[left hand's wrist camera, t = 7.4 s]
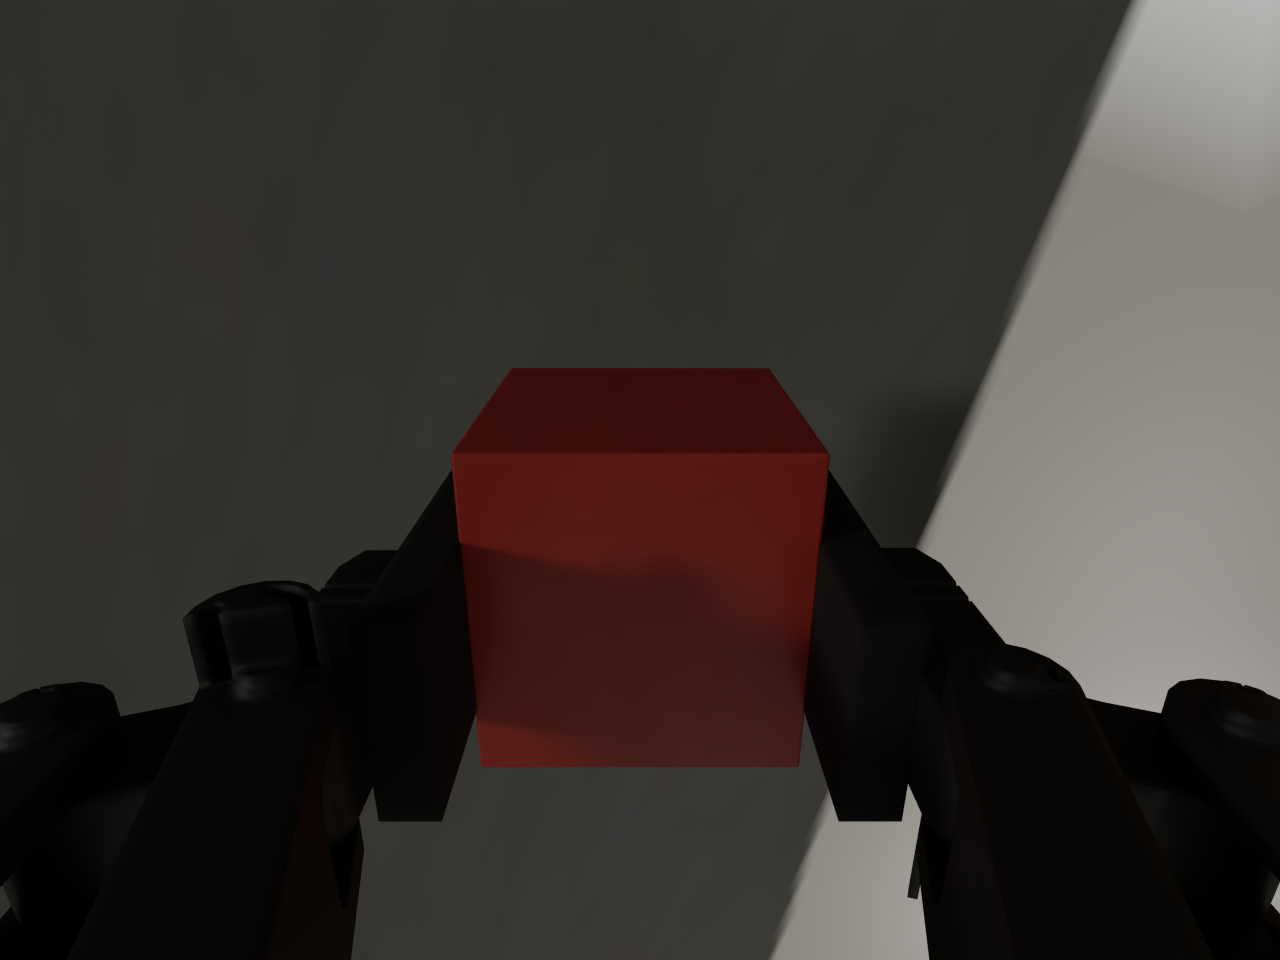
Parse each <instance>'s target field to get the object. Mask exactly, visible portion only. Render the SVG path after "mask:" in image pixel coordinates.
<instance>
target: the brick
mask: <svg viewBox="0 0 1280 960" xmlns="http://www.w3.org/2000/svg"><path fill="white" fill-rule="evenodd" d="M829 461H830V455H829V453H828V451H827V450H826V448H825V447H824V446H823V444H822V443H821V441H820V440H819V438H818V437H817V436H816V434H815V433H814V431H813V430H812V429H811V427H810V426H809V424H808V423H807V422H806V420H805V419H804V417H803V416H802V414H801V413H800V412H799V410H798V409H797V407H796V406H795V405H794V403H793V402H792V400H791V399H790V398H789V396H788V395H787V393H786V392H785V390H784V389H783V388H782V386H781V385H780V383H779V382H778V381H777V379H776V378H775V376H774V375H773V374H772V372H771V371H770V369H768V368H512V369H511V370H510V371H509V373H508V374H507V375H506V377H505V378H504V380H503V381H502V383H501V384H500V385H499V387H498V388H497V390H496V391H495V392H494V394H493V395H492V397H491V398H490V400H489V401H488V402H487V404H486V405H485V407H484V408H483V410H482V411H481V412H480V414H479V415H478V417H477V418H476V419H475V421H474V422H473V424H472V425H471V427H470V428H469V429H468V431H467V432H466V434H465V435H464V437H463V438H462V439H461V441H460V442H459V444H458V445H457V446H456V448H455V449H454V451H453V452H452V454H451V462H452V473H453V483H454V493H455V503H456V513H457V524H458V534H459V542H460V545H461V555H462V565H463V575H464V586H465V596H466V606H467V616H468V626H469V637H470V647H471V657H472V667H473V677H474V688H475V698H476V708H477V711H476V718H477V728H478V738H479V749H480V759H481V765H482V766H483V767H797V766H798V765H799V761H800V751H801V741H802V731H803V721H804V702H805V692H806V682H807V672H808V662H809V652H810V642H811V631H812V621H813V611H814V601H815V591H816V581H817V571H818V560H819V550H820V542H821V541H822V531H823V521H824V511H825V501H826V491H827V481H828V471H829Z"/></svg>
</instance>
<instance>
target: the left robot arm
mask: <svg viewBox="0 0 1280 960" xmlns="http://www.w3.org/2000/svg"><path fill="white" fill-rule="evenodd" d="M183 623H184V627H185V631H186V635H187V639H188V643H189V646H190V650H191V654H192V658H193V662H194V666H195V670H196V674H197V678H198V681H199V685H200V687H199V689H198V691H197V693H196V695H195V697H194V699H193V701H192V702H189V703H185V704H181V705H177V706H172V707H167V708H162V709H157V710H151V711H146V712H141V713H136V714H131V715H126V716H120V713H119V710H118V707H117V703H116V700H115V697H114V694H113V692H111V691H110V690H109V689H107V688H106V687H105V686H103V685H101V684H94V683H87V682H75V683H66V684H53V685H49V686H44V687H41V689H38V690H37V688H36V689H33V690H30V691H26V692H23V693H21V694H19V695H17V696H16V697H15V698H12V699H10V700H8V701H5V702H3V703H1V704H0V887H1V886H3V888H4V890H5V893H6V895H7V898H8V900H9V902H10V905H11V907H10V908H9V909H8V911H7V912H6V913H5V914H4V915H3V916H2V917H1V919H0V960H351V955H352V946H353V938H354V929H355V921H356V913H357V904H358V896H359V887H360V879H361V871H362V862H363V854H364V845H363V839H362V832H361V827H360V821H359V816H360V814H361V812H362V809H363V807H364V805H365V803H366V800H367V798H368V796H369V794H370V791H371V789H372V787H373V789H374V795H375V801H376V807H377V813H378V819H379V821H442V819H443V816H444V813H445V810H446V807H447V803H448V800H449V797H450V794H451V791H452V787H453V784H454V781H455V778H456V775H457V771H458V768H459V765H460V762H461V759H462V756H463V752H464V749H465V746H466V743H467V740H468V736H469V733H470V730H471V727H472V724H473V720H474V717H475V714H476V711H477V708H476V698H475V688H474V677H473V667H472V657H471V647H470V637H469V626H468V616H467V606H466V596H465V586H464V575H463V565H462V555H461V545H460V542H459V534H458V524H457V513H456V503H455V493H454V483H453V473H452V470H451V472H450V473H449V475H448V476H447V478H446V479H445V481H444V482H443V484H442V485H441V487H440V488H439V490H438V491H437V493H436V494H435V496H434V497H433V498H432V500H431V501H430V503H429V504H428V506H427V507H426V509H425V510H424V512H423V513H422V515H421V516H420V518H419V519H418V521H417V522H416V524H415V525H414V527H413V528H412V530H411V531H410V533H409V534H408V536H407V537H406V539H405V540H404V542H403V543H402V545H401V546H400V548H399V549H398V550H365V551H364V552H362V553H361V554H359V555H357V556H356V557H354V558H352V559H351V560H349V561H347V562H346V563H344V564H342V565H341V566H339V568H338V569H337V570H336V571H335V573H334V574H333V575H332V576H331V578H330V579H329V580H328V581H327V583H326V584H325V588H322V589H321V590H320V591H319V592H318V591H316V590H315V589H314V588H312V587H311V586H310V585H308V584H304V583H299V582H294V581H264V582H258V583H253V584H248V585H242V586H239V587H236V588H233V589H230V590H227V591H225V592H222V593H219V594H216V595H214V596H212V597H211V598H209V599H207V600H205V601H204V602H202V603H200V604H198V605H196V606H195V607H194V608H193V609H192V610H191V611H190V612H189V613H188V614H187V615H186V616H185V617H184V618H183ZM804 712H805V716H806V719H807V722H808V725H809V728H810V732H811V735H812V738H813V741H814V744H815V748H816V751H817V754H818V757H819V760H820V763H821V767H822V770H823V773H824V776H825V779H826V783H827V786H828V789H829V792H830V795H831V799H832V802H833V805H834V808H835V811H836V814H837V818H838V821H902V816H903V810H904V804H905V798H906V792H907V786H908V784H909V786H910V789H911V791H912V793H913V795H914V798H915V800H916V802H917V804H918V806H919V809H920V811H921V813H922V815H921V821H920V827H919V832H918V838H917V843H916V849H915V855H914V860H913V866H912V872H911V877H910V883H909V890H908V896H907V897H909V898H914V899H917V898H918V893H919V888H920V886H921V894H922V902H923V910H924V919H925V927H926V936H927V944H928V953H929V960H1280V913H1279V912H1278V911H1277V910H1276V909H1275V908H1274V907H1273V905H1272V904H1271V902H1272V899H1273V897H1274V894H1275V892H1276V890H1277V887H1278V885H1279V883H1280V699H1278V698H1275V697H1273V696H1271V695H1268V694H1266V693H1265V692H1264V691H1262V690H1260V689H1257V688H1254V687H1251V686H1247V685H1245V686H1242V685H1241V684H1240V683H1235V682H1230V681H1219V680H1210V679H1193V680H1186V681H1180V682H1178V683H1177V684H1175V685H1174V686H1173V687H1171V688H1170V689H1169V690H1168V693H1167V696H1166V699H1165V702H1164V706H1163V709H1162V712H1161V713H1157V712H1151V711H1146V710H1141V709H1136V708H1131V707H1126V706H1120V705H1115V704H1110V703H1105V702H1100V701H1096V700H1093V699H1089V698H1086V696H1085V694H1084V692H1083V690H1082V688H1081V686H1080V684H1079V683H1078V682H1077V681H1076V679H1075V678H1074V677H1073V676H1072V675H1071V673H1070V672H1069V671H1068V670H1066V669H1065V668H1063V667H1062V666H1060V665H1059V664H1057V663H1056V662H1054V661H1053V660H1051V659H1050V658H1048V657H1046V656H1043V655H1041V654H1038V653H1036V652H1033V651H1031V650H1029V649H1026V648H1022V647H1017V646H1013V645H1008V644H1006V643H1005V642H1004V641H1003V640H1002V638H1001V637H1000V636H999V635H998V633H997V632H996V631H995V630H994V628H993V627H992V626H991V625H990V624H989V622H988V621H987V620H986V619H985V617H984V616H983V615H982V614H981V612H980V611H979V610H978V609H977V607H976V606H975V605H974V604H973V602H972V601H969V600H968V596H967V595H966V594H965V592H964V591H963V590H962V589H961V587H960V586H956V581H955V580H954V579H953V578H952V576H951V575H950V574H949V573H948V571H947V570H946V569H945V568H944V566H943V565H942V564H941V563H939V562H938V561H936V560H934V559H933V558H931V557H929V556H928V555H926V554H924V553H923V552H921V551H919V550H918V549H916V548H881V547H880V545H879V544H878V542H877V541H876V539H875V538H874V536H873V535H872V533H871V532H870V530H869V529H868V527H867V526H866V524H865V523H864V521H863V520H862V519H861V517H860V516H859V514H858V513H857V511H856V510H855V508H854V507H853V505H852V504H851V502H850V501H849V499H848V498H847V496H846V495H845V493H844V492H843V490H842V489H841V487H840V486H839V484H838V483H837V481H836V480H835V478H834V477H833V475H832V474H831V472H830V471H828V481H827V491H826V501H825V511H824V521H823V531H822V541H821V542H820V550H819V560H818V571H817V581H816V591H815V601H814V611H813V621H812V631H811V642H810V652H809V662H808V672H807V682H806V692H805V702H804Z"/></svg>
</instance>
